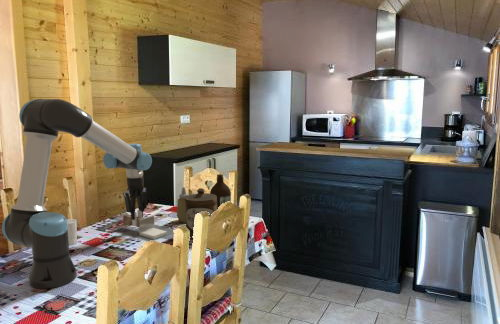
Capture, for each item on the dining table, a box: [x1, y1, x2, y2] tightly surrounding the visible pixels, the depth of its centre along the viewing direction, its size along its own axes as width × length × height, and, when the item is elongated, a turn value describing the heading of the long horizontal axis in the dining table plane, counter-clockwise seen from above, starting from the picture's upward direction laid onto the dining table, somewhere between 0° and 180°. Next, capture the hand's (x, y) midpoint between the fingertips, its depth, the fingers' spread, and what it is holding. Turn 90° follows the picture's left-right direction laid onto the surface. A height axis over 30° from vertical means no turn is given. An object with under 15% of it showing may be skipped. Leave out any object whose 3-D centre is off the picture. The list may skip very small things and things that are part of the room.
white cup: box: [66, 218, 78, 246], centre depth 186 cm, size 8×8×10 cm
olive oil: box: [209, 173, 232, 209], centre depth 213 cm, size 11×11×25 cm
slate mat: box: [122, 224, 174, 242], centre depth 199 cm, size 18×20×1 cm
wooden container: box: [185, 188, 217, 239], centre depth 195 cm, size 15×15×22 cm
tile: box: [139, 228, 167, 240], centre depth 195 cm, size 8×2×10 cm
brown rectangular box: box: [122, 213, 155, 231], centre depth 201 cm, size 17×8×5 cm, turn 53°
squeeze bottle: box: [176, 186, 190, 224], centre depth 216 cm, size 8×8×18 cm
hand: (137, 224), depth 201 cm, fingers closed on brown rectangular box, 2 cm apart
